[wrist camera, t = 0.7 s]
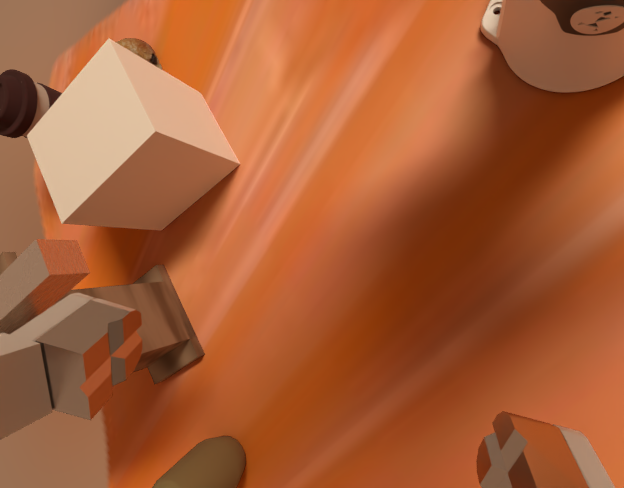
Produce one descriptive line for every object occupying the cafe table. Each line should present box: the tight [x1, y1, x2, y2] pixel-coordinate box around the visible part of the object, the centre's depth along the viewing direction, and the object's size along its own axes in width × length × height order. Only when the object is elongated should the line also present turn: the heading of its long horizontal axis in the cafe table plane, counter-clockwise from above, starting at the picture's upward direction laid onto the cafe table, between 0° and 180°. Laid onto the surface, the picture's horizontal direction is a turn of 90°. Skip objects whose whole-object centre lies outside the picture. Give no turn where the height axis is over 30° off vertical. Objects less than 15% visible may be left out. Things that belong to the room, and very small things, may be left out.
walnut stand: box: [0, 252, 204, 384], centre depth 46 cm, size 18×16×28 cm
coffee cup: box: [0, 70, 62, 138], centre depth 60 cm, size 10×10×15 cm
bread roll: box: [116, 38, 162, 70], centre depth 61 cm, size 10×10×8 cm
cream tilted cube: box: [27, 39, 240, 231], centre depth 51 cm, size 18×14×16 cm
